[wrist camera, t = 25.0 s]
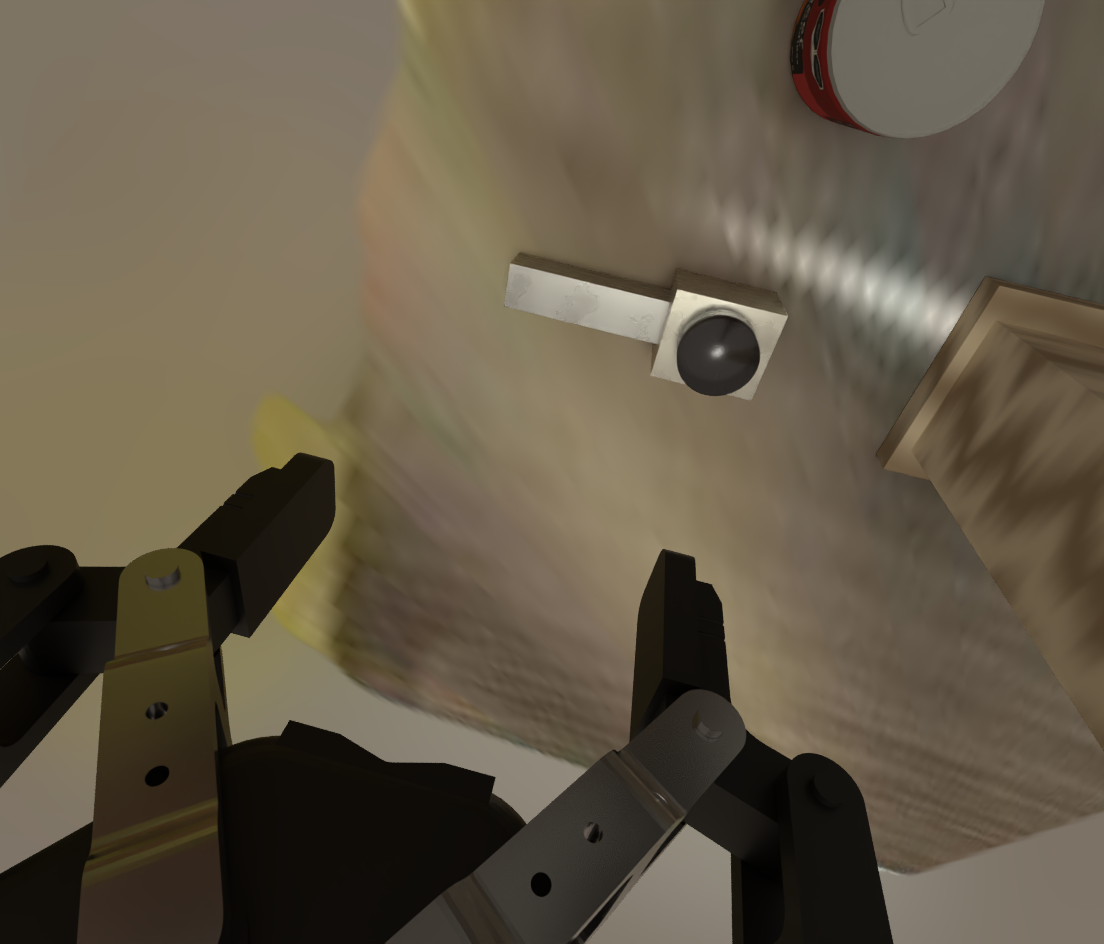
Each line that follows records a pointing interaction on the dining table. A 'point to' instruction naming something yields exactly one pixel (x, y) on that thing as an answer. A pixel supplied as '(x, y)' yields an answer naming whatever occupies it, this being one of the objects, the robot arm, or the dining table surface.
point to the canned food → (908, 60)
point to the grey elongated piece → (663, 319)
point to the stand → (1024, 465)
